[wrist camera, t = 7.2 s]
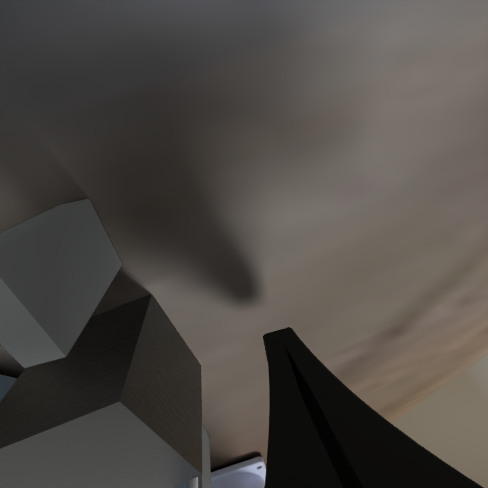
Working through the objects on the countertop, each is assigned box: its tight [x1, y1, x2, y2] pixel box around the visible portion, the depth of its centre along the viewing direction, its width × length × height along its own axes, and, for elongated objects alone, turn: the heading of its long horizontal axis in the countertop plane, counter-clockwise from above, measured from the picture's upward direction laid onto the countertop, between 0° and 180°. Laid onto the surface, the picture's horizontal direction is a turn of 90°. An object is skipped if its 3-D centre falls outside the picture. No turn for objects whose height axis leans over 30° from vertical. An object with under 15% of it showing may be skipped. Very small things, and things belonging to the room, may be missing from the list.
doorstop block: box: [0, 294, 202, 488], centre depth 10 cm, size 6×5×5 cm
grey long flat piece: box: [0, 199, 211, 488], centre depth 10 cm, size 19×1×5 cm, turn 10°
